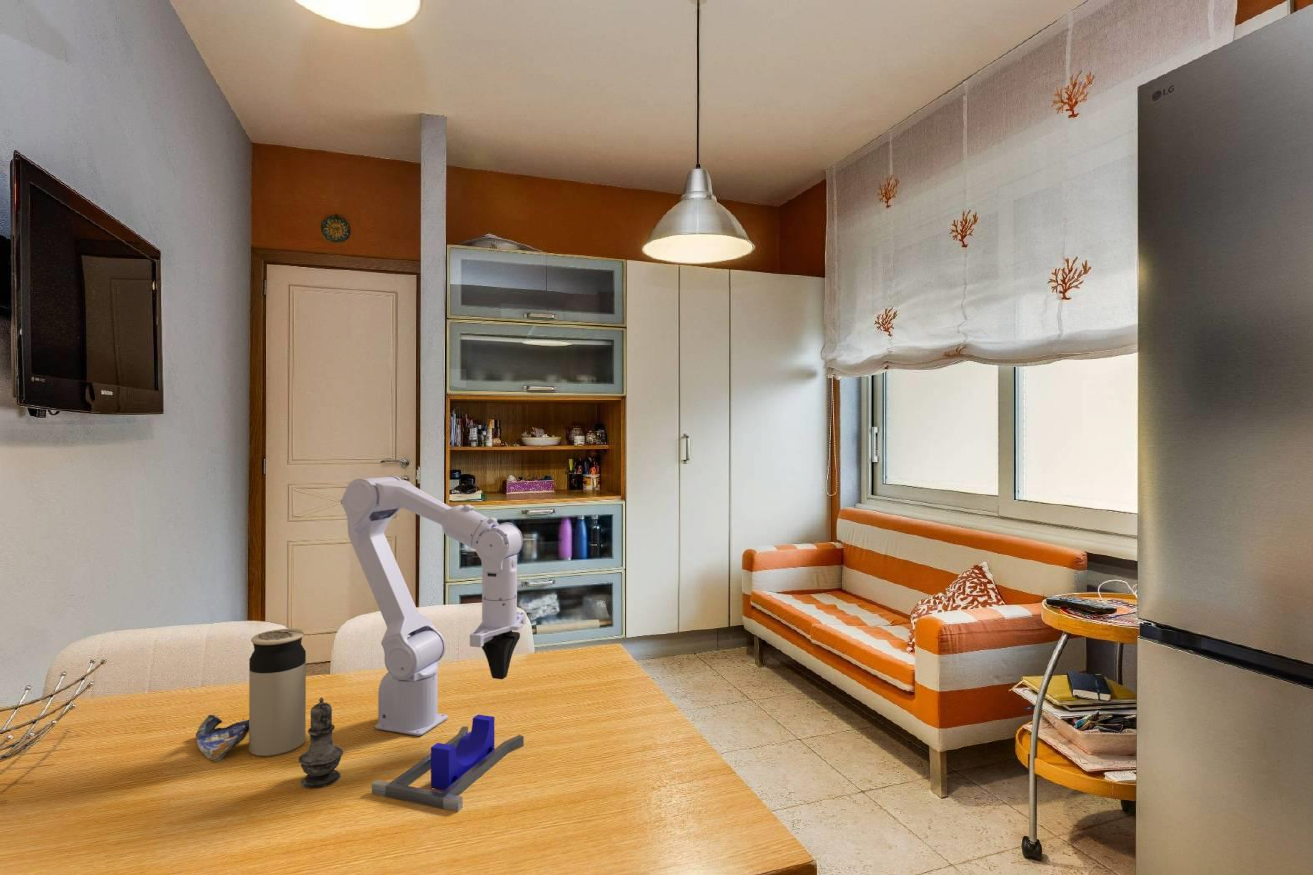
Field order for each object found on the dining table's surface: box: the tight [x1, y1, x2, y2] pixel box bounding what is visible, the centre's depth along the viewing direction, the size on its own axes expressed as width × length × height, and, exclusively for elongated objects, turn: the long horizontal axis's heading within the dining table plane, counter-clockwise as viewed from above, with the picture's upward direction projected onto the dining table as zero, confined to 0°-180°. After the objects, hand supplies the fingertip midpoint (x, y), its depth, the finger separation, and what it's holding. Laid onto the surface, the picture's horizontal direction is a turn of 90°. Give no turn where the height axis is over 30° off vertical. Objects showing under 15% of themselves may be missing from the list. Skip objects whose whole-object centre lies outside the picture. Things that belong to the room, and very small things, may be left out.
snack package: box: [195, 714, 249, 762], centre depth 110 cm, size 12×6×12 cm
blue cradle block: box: [430, 714, 495, 792], centre depth 102 cm, size 12×4×6 cm, turn 162°
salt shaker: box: [298, 697, 344, 790], centre depth 99 cm, size 6×6×12 cm
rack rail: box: [371, 726, 525, 812], centre depth 102 cm, size 14×20×2 cm
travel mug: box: [248, 628, 307, 757], centre depth 109 cm, size 8×8×18 cm
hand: (499, 677), depth 113 cm, fingers closed
